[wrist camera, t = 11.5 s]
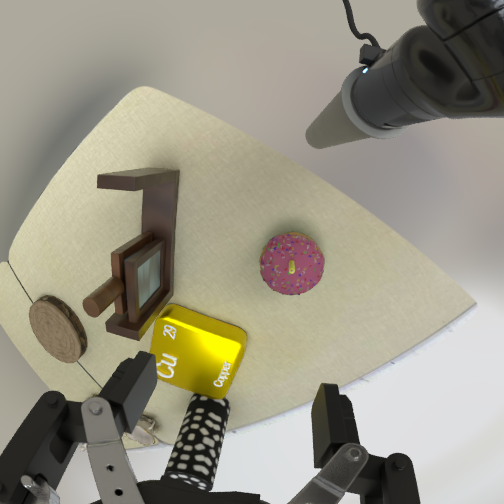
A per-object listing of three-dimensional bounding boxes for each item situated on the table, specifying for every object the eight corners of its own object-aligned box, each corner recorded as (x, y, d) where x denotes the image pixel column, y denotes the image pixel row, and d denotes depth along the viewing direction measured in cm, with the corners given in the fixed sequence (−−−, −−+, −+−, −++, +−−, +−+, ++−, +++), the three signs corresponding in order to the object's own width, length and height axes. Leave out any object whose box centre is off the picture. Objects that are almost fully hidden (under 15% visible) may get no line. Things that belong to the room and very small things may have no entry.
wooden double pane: (148, 167, 40) (97, 174, 27) (179, 169, 39) (135, 176, 27) (146, 289, 46) (106, 331, 33) (173, 294, 46) (139, 341, 33)
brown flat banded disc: (97, 358, 53) (91, 366, 51) (53, 353, 56) (47, 359, 53) (69, 293, 49) (61, 300, 46) (28, 296, 51) (20, 301, 48)
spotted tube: (186, 390, 53) (156, 467, 34) (226, 391, 52) (205, 475, 33) (196, 415, 55) (173, 488, 36) (233, 416, 54) (217, 494, 35)
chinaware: (113, 434, 67) (97, 476, 51) (70, 402, 62) (48, 443, 46) (171, 420, 59) (156, 475, 44) (119, 379, 54) (92, 436, 39)
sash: (142, 230, 41) (77, 270, 26) (156, 232, 41) (95, 274, 26) (142, 281, 44) (88, 336, 28) (156, 284, 44) (104, 341, 28)
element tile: (226, 387, 51) (221, 405, 47) (153, 360, 51) (144, 376, 47) (250, 330, 47) (247, 347, 42) (165, 299, 46) (155, 313, 42)
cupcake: (256, 230, 41) (247, 258, 30) (315, 220, 40) (329, 244, 29) (267, 284, 44) (263, 328, 32) (323, 275, 42) (337, 316, 31)
